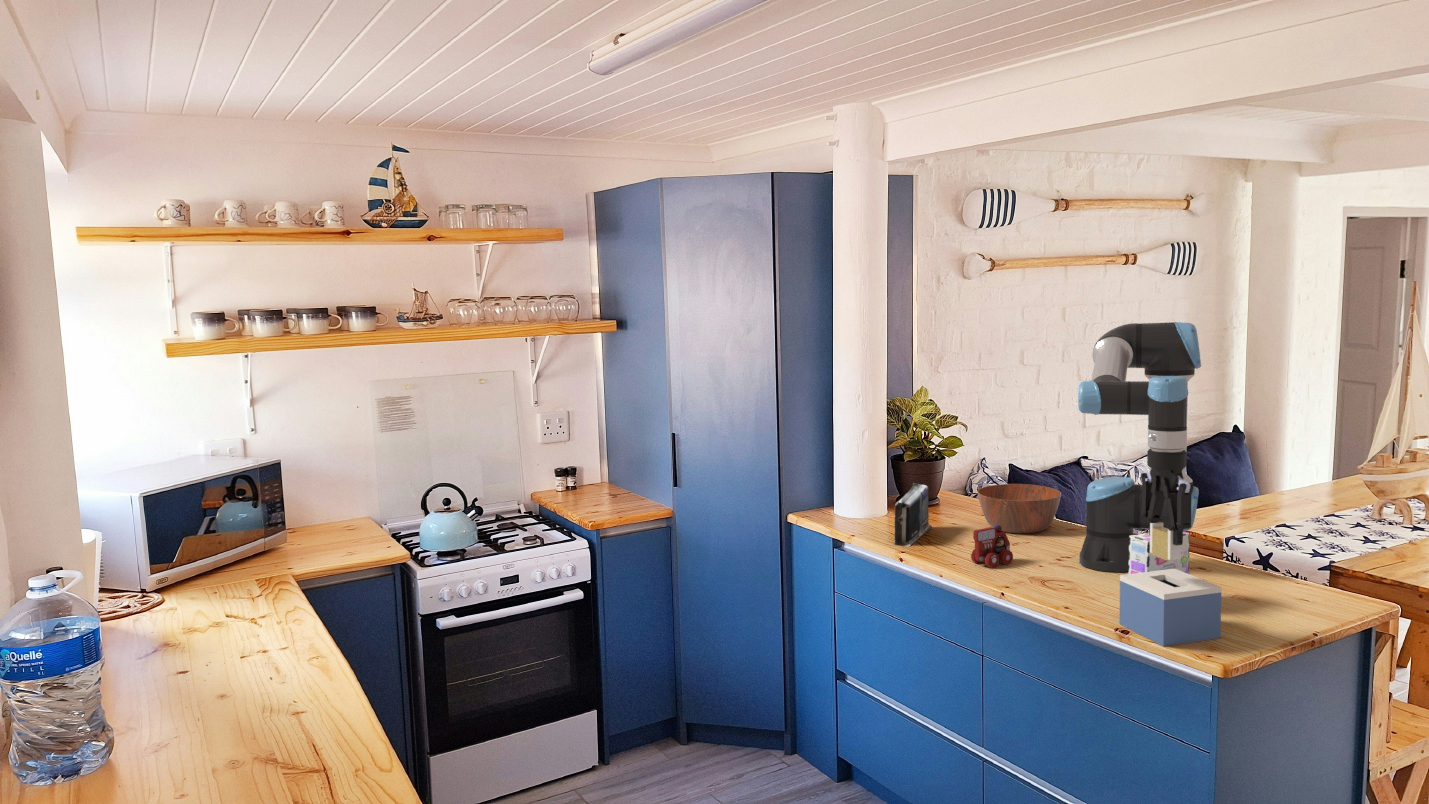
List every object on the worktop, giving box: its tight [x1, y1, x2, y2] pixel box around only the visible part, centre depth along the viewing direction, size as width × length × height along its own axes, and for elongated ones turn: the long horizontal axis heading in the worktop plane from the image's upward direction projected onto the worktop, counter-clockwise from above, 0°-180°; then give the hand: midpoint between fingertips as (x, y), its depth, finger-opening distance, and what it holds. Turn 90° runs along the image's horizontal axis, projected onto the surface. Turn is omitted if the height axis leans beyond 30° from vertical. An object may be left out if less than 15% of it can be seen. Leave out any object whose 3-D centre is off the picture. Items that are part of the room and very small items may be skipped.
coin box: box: [1119, 569, 1222, 647], centre depth 202 cm, size 14×14×11 cm
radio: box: [892, 482, 933, 548], centre depth 286 cm, size 23×9×15 cm, turn 144°
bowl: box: [976, 483, 1062, 535], centre depth 292 cm, size 25×25×11 cm
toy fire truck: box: [970, 525, 1014, 569], centre depth 256 cm, size 7×12×10 cm, turn 118°
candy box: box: [1127, 531, 1190, 574], centre depth 221 cm, size 14×6×16 cm, turn 114°
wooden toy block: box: [1152, 527, 1177, 561], centre depth 201 cm, size 5×2×6 cm, turn 12°
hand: (1165, 555), depth 201 cm, fingers closed on wooden toy block, 5 cm apart
